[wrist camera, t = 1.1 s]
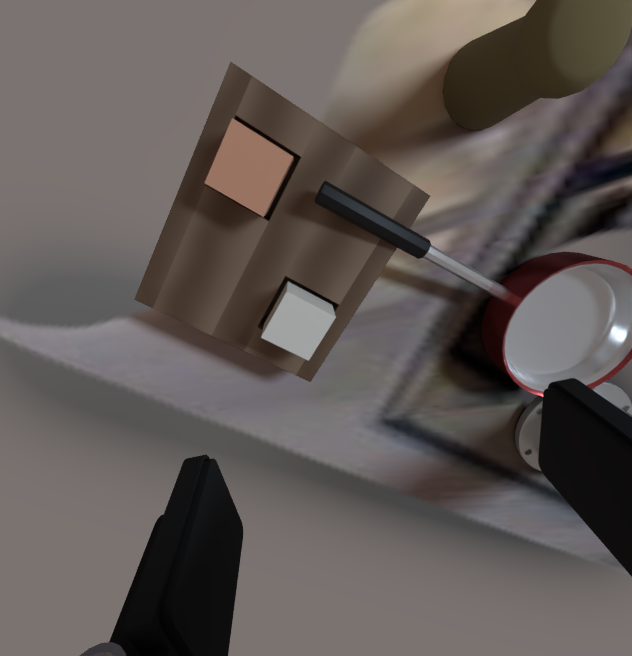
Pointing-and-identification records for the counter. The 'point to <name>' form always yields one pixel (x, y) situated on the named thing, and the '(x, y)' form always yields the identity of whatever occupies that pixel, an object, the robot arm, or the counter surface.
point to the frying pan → (530, 304)
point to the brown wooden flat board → (272, 230)
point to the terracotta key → (248, 168)
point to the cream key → (298, 321)
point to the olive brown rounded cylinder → (535, 59)
